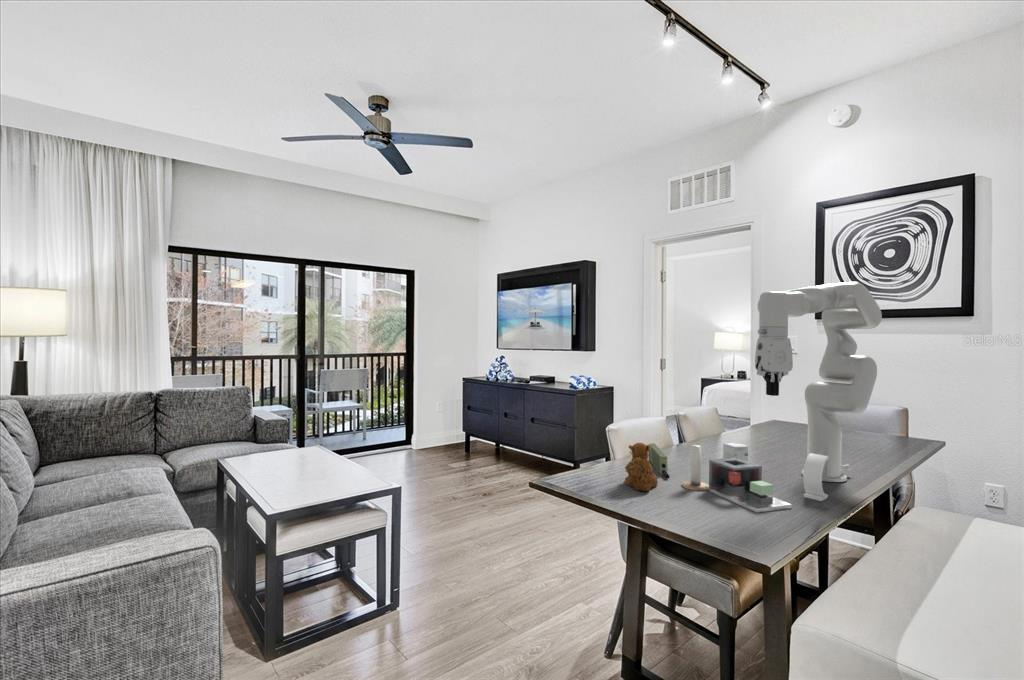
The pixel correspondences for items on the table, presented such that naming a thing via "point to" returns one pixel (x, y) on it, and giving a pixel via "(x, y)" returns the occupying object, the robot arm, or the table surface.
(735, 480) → the plunger
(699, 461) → the white rounded rod
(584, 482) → the table surface
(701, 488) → the cork coaster
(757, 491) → the on button
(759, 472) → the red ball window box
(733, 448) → the skincare box
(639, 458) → the brown rounded furry figure
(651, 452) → the handheld radio
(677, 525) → the table surface
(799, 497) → the table surface
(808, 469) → the headphone stand
